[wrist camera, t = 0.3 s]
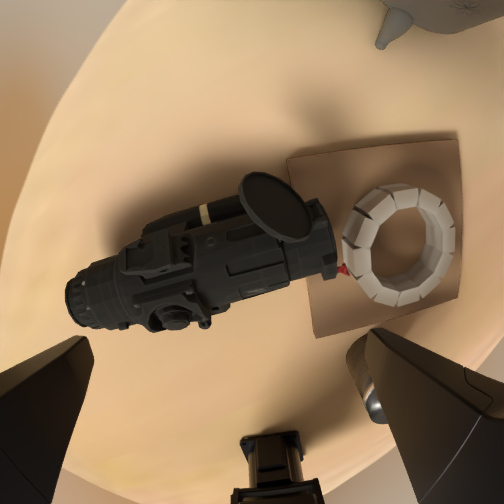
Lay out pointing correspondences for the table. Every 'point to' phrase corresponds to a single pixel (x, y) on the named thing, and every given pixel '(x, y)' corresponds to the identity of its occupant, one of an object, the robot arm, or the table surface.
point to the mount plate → (385, 230)
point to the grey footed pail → (436, 16)
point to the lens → (364, 380)
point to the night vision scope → (208, 260)
